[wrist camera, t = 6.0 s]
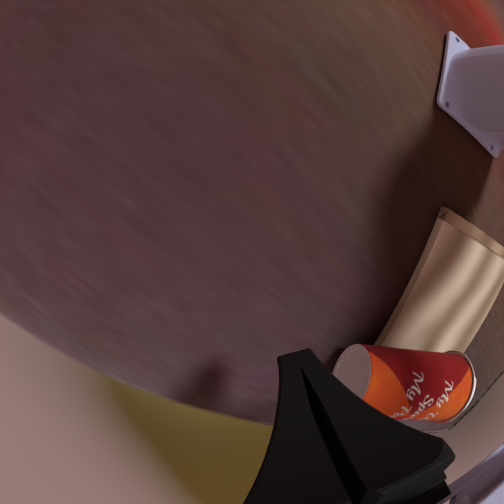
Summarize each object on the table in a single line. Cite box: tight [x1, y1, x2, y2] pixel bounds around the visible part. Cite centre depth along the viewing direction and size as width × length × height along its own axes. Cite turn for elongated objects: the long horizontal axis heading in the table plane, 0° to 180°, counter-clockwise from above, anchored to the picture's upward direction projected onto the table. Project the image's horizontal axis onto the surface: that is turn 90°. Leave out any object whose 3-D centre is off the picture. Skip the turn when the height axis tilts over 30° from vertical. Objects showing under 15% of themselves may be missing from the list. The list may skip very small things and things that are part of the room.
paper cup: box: [332, 344, 476, 423], centre depth 20 cm, size 8×8×14 cm
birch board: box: [374, 206, 504, 353], centre depth 23 cm, size 16×18×1 cm
